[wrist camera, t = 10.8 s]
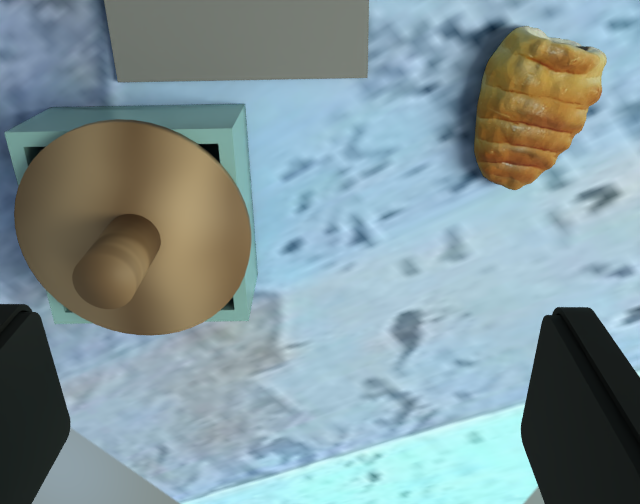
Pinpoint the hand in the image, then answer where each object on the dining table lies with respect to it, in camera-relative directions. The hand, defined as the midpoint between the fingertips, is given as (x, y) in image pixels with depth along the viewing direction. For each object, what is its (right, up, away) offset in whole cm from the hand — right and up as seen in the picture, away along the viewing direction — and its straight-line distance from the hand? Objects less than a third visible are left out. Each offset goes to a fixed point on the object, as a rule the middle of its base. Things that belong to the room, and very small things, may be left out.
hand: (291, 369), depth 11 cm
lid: (-10, +3, +22) cm, 24 cm away
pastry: (+14, +12, +25) cm, 31 cm away
